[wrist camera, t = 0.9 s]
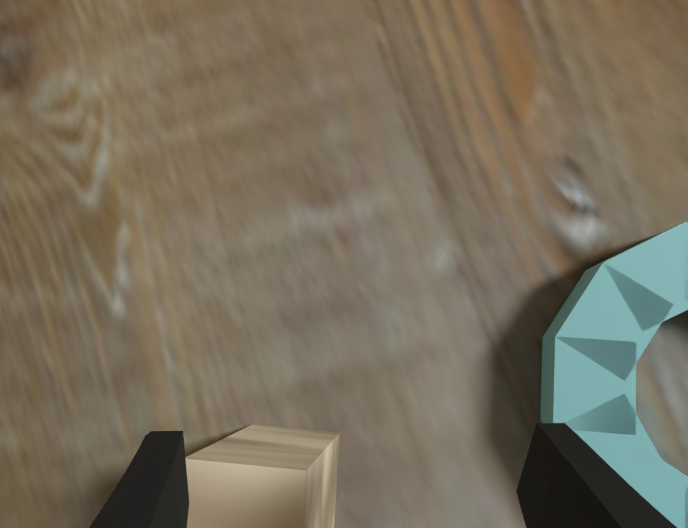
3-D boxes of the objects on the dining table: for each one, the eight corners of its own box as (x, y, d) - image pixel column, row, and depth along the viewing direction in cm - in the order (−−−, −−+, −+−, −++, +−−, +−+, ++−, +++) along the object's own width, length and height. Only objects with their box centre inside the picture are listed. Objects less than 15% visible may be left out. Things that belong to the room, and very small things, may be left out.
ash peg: (333, 526, 26) (296, 607, 18) (244, 516, 27) (170, 591, 19) (339, 432, 26) (306, 470, 19) (252, 424, 27) (183, 458, 19)
